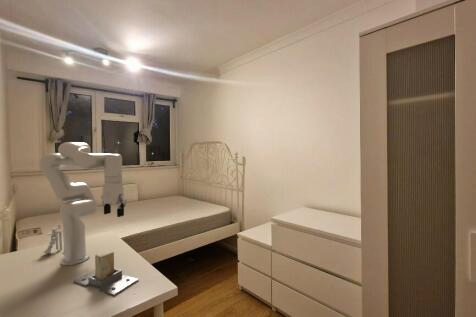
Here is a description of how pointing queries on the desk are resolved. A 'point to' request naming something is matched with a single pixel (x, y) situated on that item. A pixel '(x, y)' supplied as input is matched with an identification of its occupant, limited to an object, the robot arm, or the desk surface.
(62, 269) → the desk surface
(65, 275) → the desk surface
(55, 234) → the clamp
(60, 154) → the robot arm
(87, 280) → the hinge base
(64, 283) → the desk surface
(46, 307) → the desk surface
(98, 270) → the skincare box
